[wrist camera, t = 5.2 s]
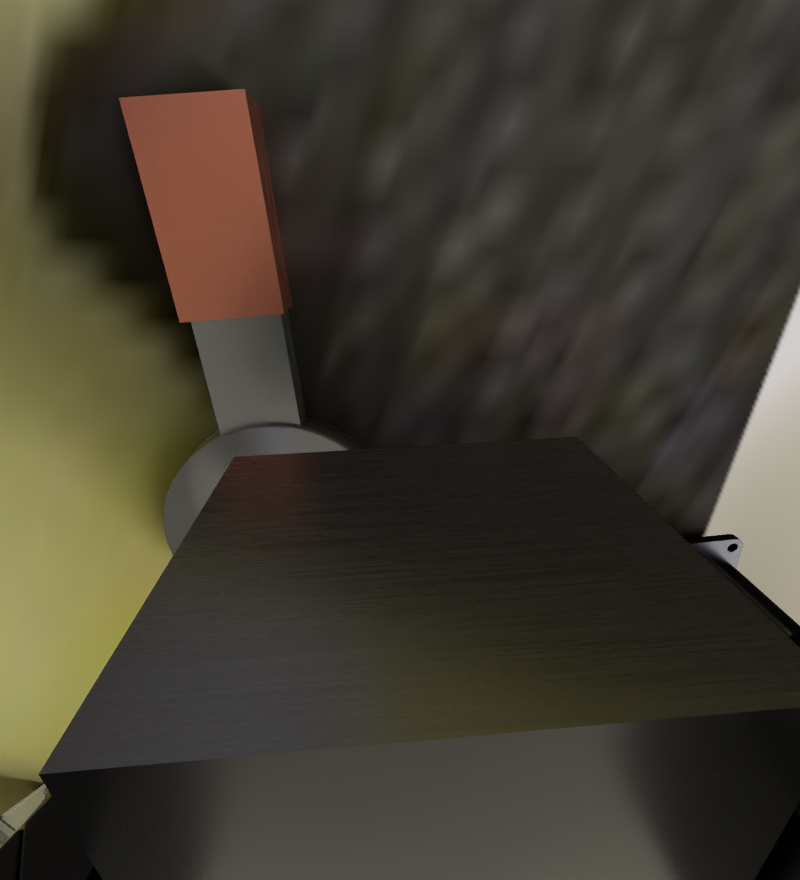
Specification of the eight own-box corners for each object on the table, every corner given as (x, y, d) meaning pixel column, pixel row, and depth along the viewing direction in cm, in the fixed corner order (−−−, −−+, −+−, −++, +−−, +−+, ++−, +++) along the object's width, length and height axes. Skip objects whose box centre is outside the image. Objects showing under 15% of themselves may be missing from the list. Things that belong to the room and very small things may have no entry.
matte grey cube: (576, 437, 8) (857, 702, 3) (543, 672, 10) (679, 1009, 6) (233, 456, 8) (38, 773, 3) (283, 693, 10) (214, 1064, 6)
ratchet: (55, 121, 14) (-92, 65, 9) (349, 100, 14) (341, 36, 10) (209, 596, 21) (169, 687, 17) (396, 577, 22) (403, 661, 17)
